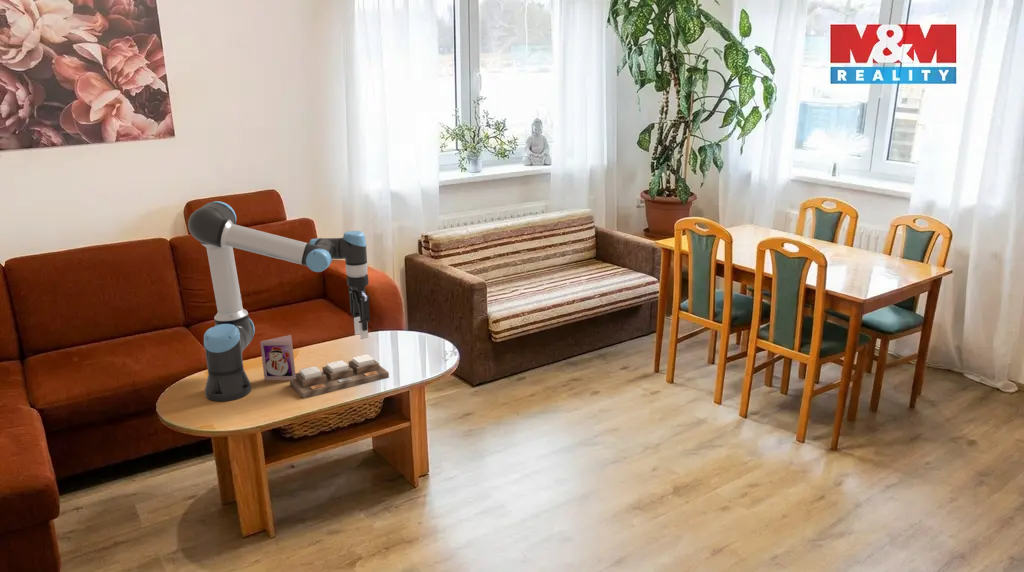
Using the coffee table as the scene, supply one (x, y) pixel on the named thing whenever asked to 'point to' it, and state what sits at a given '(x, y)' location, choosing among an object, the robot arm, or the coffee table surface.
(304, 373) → the button left
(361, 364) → the button right
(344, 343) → the coffee table surface
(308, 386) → the button board
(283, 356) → the greeting card
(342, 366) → the button middle
